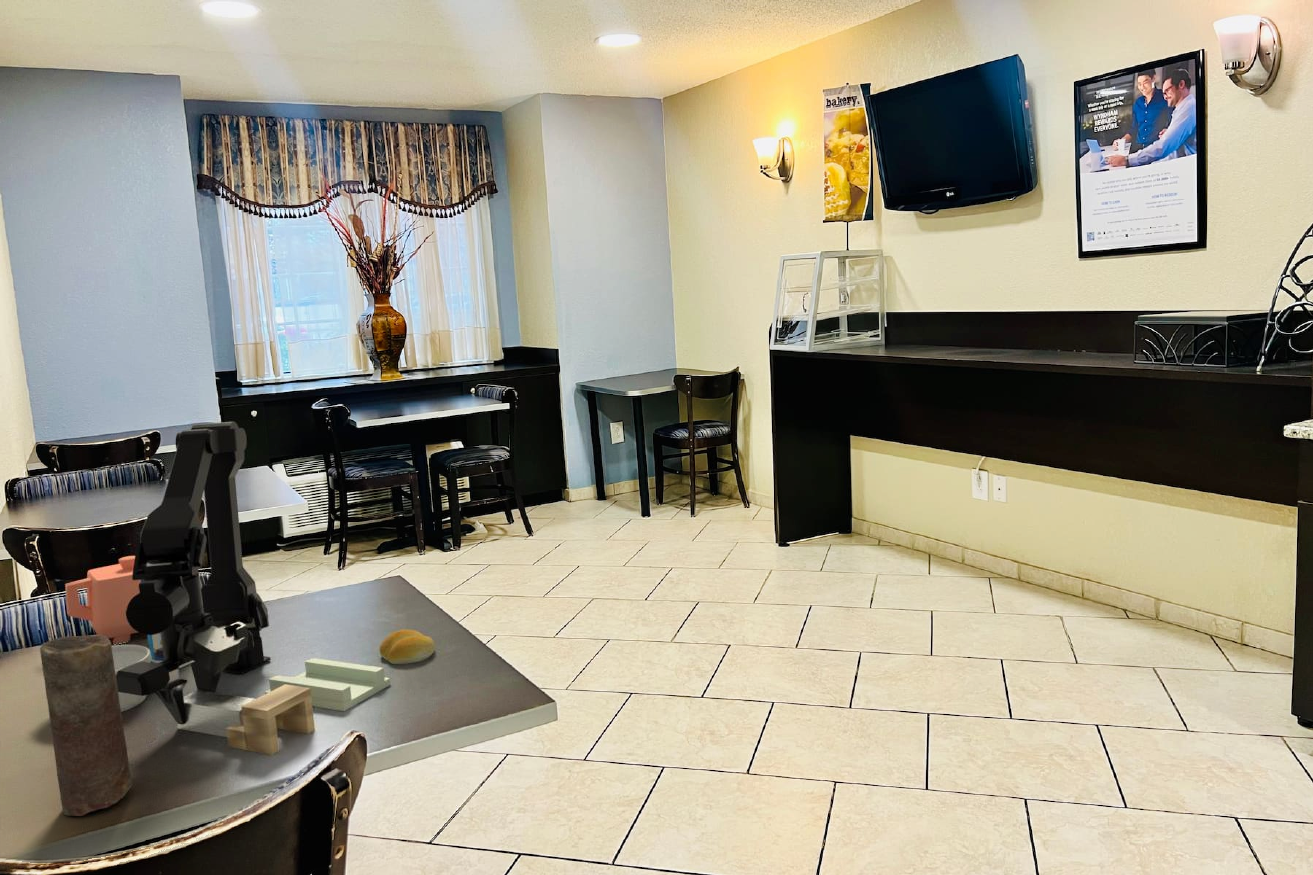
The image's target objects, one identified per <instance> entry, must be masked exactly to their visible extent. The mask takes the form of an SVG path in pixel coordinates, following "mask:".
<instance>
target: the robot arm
mask: <svg viewBox="0 0 1313 875" xmlns="http://www.w3.org/2000/svg"><path fill="white" fill-rule="evenodd" d="M247 444H248V443H247V433H246V430H245V428H243V427H239V425H238V423H236V421H225V422H222V421H221V422H209V423H194V424H193V425H192V426H191V428H190V429H186V430H185V429H184V430H182V431H179V432H177V434H176V436H175V448H176V452H175V454H174V457H173V462H172V466H171V469H170V472H169V476H168V481H167V484H166V487H165V490H164V495H163V498H162V501H161V503H160V505H159V506H157V507H156V508H155V509H154V510H152V511H151V512H150V513H149V514H148V515H147V517H146V520H145V521H144V524H143V527H142V529H141V532H139V534H138V535H137V536H138V537H137V540H136V541H137V542H136V548H135V554H134V556H135V561H134V567H133V574H132V579H133V580H143V579H145V581H142V582H141V583H139V593H138V594H137V595H135V596H134V597H133V598H132V599H131V600H130V602H129V604H128V606H127V610H126V618H127V621H128V623H129V624H130V626H131V627H132V628H133V629H134V630H136V631H137V632H138V633H139V634H142V635H146V636H147V635H155V634H158V633H160V635H161V642H162V648H159V649H157V650H156V654H157V657H162V658H164V661H162V662H160V663H154V662H150V663H149V662H142V661H140V662H137V663H135V664H133V665H130V666H128V667H125V668H123V669H120V670H118V671H117V673H116V681H117V688H118V692H121V693H127V694H133V695H139V696H145V695H147V696H149V695H151V694H153V693H154V694H155V696H157V698H158V699H159V700H160V701H161V704H163V705H164V707H165V708H166V709H167V711H168V712H169V713H170V715H171V716H172V717H173V719H174V720H175V721H176V724H177V723H178V724H181V725H183V724H185V723H186V714H185V705H184V692H183V691H184V688H185V686H186V684H187V683H188V679H184V678H183V679H182V678H180V670H181V669H183V668H186V667H188V666H190V667H191V671H192V675H193V679H194V682H195V686H196V691H197V690H202V691H208V692H215V693H217V689H218V685H219V680H220V678H221V675H222V672H224V673H230V674H238V675H241V674H244V673H246V672H248V671H251V670H253V669H255V668H257V667H259V666H261V665H264V664H265V663H268V662H270V661H271V659H272V658H271V656H265V655H264V647H263V646H264V645H263V640H262V637H261V631H262V630H263V629H265V628H268V627H269V626H270V623H269V611H268V607H267V606H266V604H265V603H264V601H263V600H262V598H261V596H260V594H259V593H257V586H256V585H257V584H256V582H255V580H254V578H253V577H252V576H251V575H250V573H249V572H248V571H247V570H246V569H245V567H244V564H243V563H244V562H243V554H242V552H243V551H242V542H241V531H240V528H241V527H240V519H239V507H238V506H239V505H238V494H237V483H236V477H237V475H238V472H239V470H240V469H241V467H242V465H243V463H244V461H245V450H246V448H247ZM203 496H204V504H205V507H204V508H205V515H206V516H205V517H206V527H207V528H206V529H207V535H206V534H205V530H204V527H203V525H202V524H201V521H200V519H199V513H200V512H199V511H200V507H201V503H202V499H203ZM207 539H208V549H209V550H208V551H209V561H210V574H209V576H208V578H207V579H206V582H205V584H203V585H202V584H201V579H200V578H201V577H200V572H199V569H200V568H201V567H203V560H204V556H205V550H206V545H207ZM147 562H149V563H150V564H152V565H155V564H167V563H171V564H167V565H155V566H146V565H147Z"/></svg>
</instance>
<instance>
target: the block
mask: <svg viewBox="0 0 1313 875" xmlns="http://www.w3.org/2000/svg"><path fill="white" fill-rule="evenodd" d="M183 697H184V705H185V714H186V723H185V724H183V725H181V724H178V723H177V722H176V724H177V729H179V730H185V731H190V732H197V733H201V734H207V735H212V736H218V737H225V738H227V731H226V728H228V727H230V726H232V725H237V726H243V727H244V725H243V717H242V709H241V706H243V705H245V704H247V703H249V702H251V701H253V700H255V699H256V698H253V697H245V696H239V695H233V694H226V693H222V692H221V693H219V692H216V693H215V692H208V691H202V690H197V689H196V690H195V691H193V692H191V693H188V694H186V695H183Z"/></svg>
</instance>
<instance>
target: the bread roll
mask: <svg viewBox="0 0 1313 875" xmlns="http://www.w3.org/2000/svg"><path fill="white" fill-rule="evenodd" d="M435 646H436V645H435V642H434V640H433V639H432V638H431V637H430V636H428V635H427V636H426V635H424V634H422V633H421V632H420V631H417V630H413V629H400V630H395V631H394V632H392V633H390V634H389V635H387V637H386V638H384V639H383V641H382V642H381V644H380V646H379V648H378V649H379V650H378V651H379V653H380V655H381V657H382V659H384V660H386V661H388V662H389V663H390V664H392V665H406V664H407V665H408V664H413V663H414V664H415V663H418V662H423V661H425V660H427V659H428V658H429V657H431V656H432V655H433V653H434V652H435V649H436V648H435Z"/></svg>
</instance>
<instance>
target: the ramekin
mask: <svg viewBox="0 0 1313 875" xmlns="http://www.w3.org/2000/svg"><path fill="white" fill-rule="evenodd" d="M111 646H112V653H113V660H114V667H115V674H116V673H117V671H118V670H120V669H123V668H125V667H128V666H130V665H133V664H135V663H137V662H140V661H142V662H149V663H152V661H151V659H152V657H151V652H150V650H149V647H146V646H145V645H138V644H121V645H111ZM118 694H119V702H120V708H121V713H122V712H125V711H128V710H130V709H133V708H135V707H136V706H138V705H139V704H141V703H142V702H143V701H145V699H146V698H147V696H148V695H145V696H139V695H133V694H127V693H121V692H118Z"/></svg>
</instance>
